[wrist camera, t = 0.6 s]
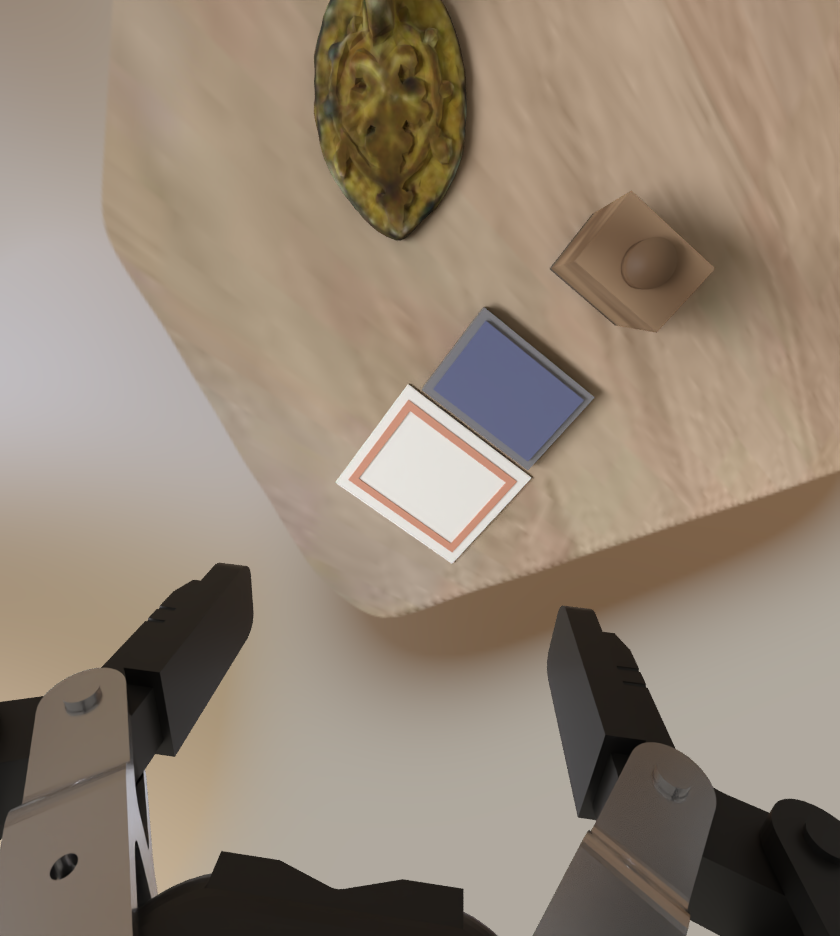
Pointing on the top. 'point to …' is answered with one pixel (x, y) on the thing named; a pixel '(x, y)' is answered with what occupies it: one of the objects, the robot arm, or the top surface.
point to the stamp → (631, 265)
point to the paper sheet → (431, 475)
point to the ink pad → (506, 390)
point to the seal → (390, 107)
